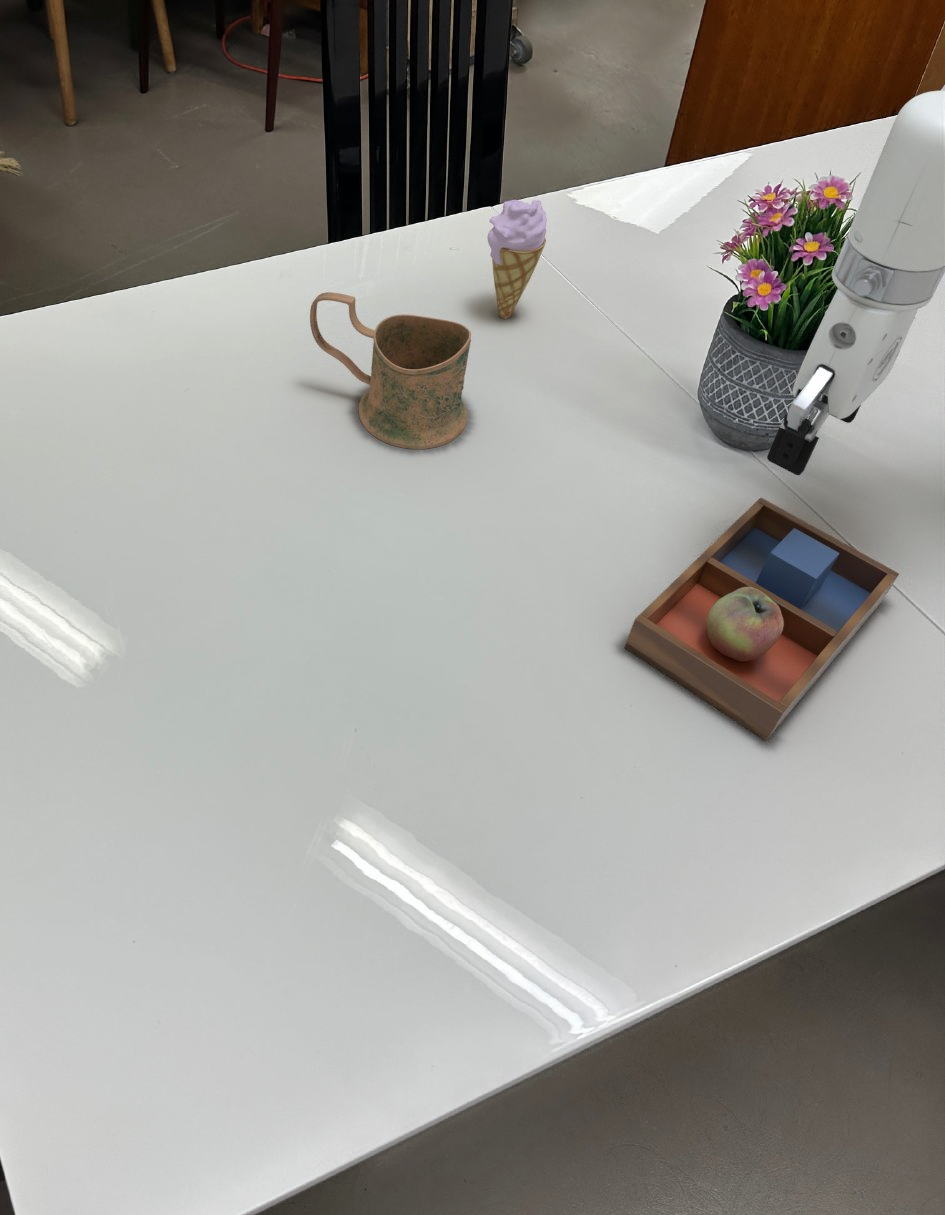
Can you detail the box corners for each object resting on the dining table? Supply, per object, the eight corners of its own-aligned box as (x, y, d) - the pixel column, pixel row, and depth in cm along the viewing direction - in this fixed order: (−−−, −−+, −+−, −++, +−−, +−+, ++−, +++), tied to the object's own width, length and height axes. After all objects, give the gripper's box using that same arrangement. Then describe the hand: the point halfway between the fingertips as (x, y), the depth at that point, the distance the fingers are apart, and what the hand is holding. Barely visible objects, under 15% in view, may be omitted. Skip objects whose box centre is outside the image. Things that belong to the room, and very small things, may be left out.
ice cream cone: (502, 338, 126) (524, 217, 115) (463, 313, 129) (481, 194, 118) (539, 317, 129) (565, 198, 118) (501, 294, 132) (522, 176, 121)
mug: (328, 357, 122) (332, 261, 113) (479, 396, 118) (496, 300, 109) (289, 417, 114) (290, 319, 105) (449, 460, 111) (464, 363, 102)
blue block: (776, 561, 102) (794, 527, 99) (820, 587, 100) (839, 553, 97) (753, 586, 100) (770, 552, 96) (797, 612, 98) (816, 578, 94)
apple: (689, 671, 93) (710, 626, 88) (705, 607, 98) (725, 562, 93) (760, 694, 91) (785, 650, 87) (772, 628, 96) (796, 583, 92)
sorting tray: (747, 526, 106) (760, 496, 104) (881, 602, 100) (899, 573, 98) (623, 647, 95) (634, 618, 92) (766, 741, 89) (783, 713, 86)
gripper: (887, 334, 77) (803, 509, 90) (980, 243, 86) (891, 414, 99) (791, 292, 80) (723, 467, 93) (890, 209, 89) (815, 379, 102)
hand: (810, 440), depth 96 cm, fingers open, 9 cm apart
